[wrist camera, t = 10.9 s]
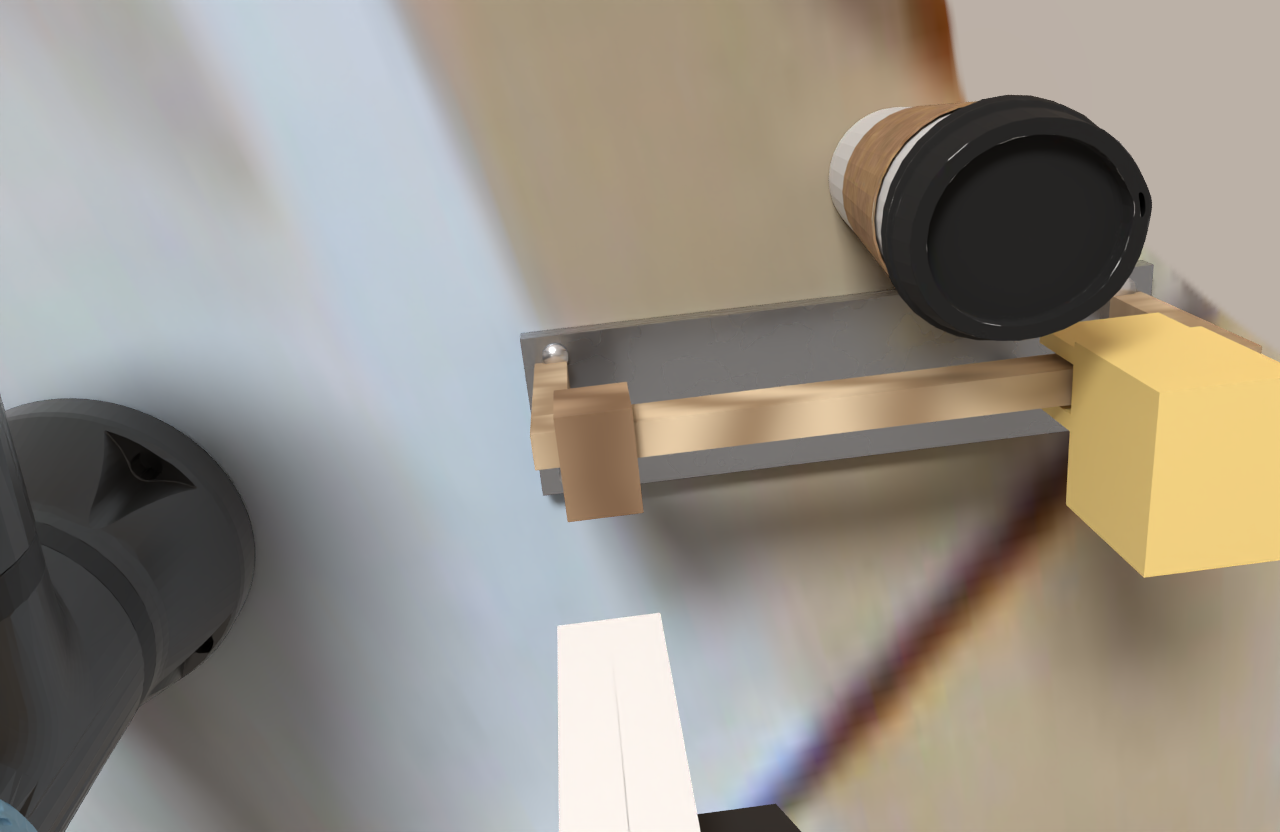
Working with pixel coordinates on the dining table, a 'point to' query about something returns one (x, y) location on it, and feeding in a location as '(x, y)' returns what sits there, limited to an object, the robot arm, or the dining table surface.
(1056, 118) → the coffee cup
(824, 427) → the bar
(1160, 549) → the slider head
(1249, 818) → the dining table surface
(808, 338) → the hole plate
